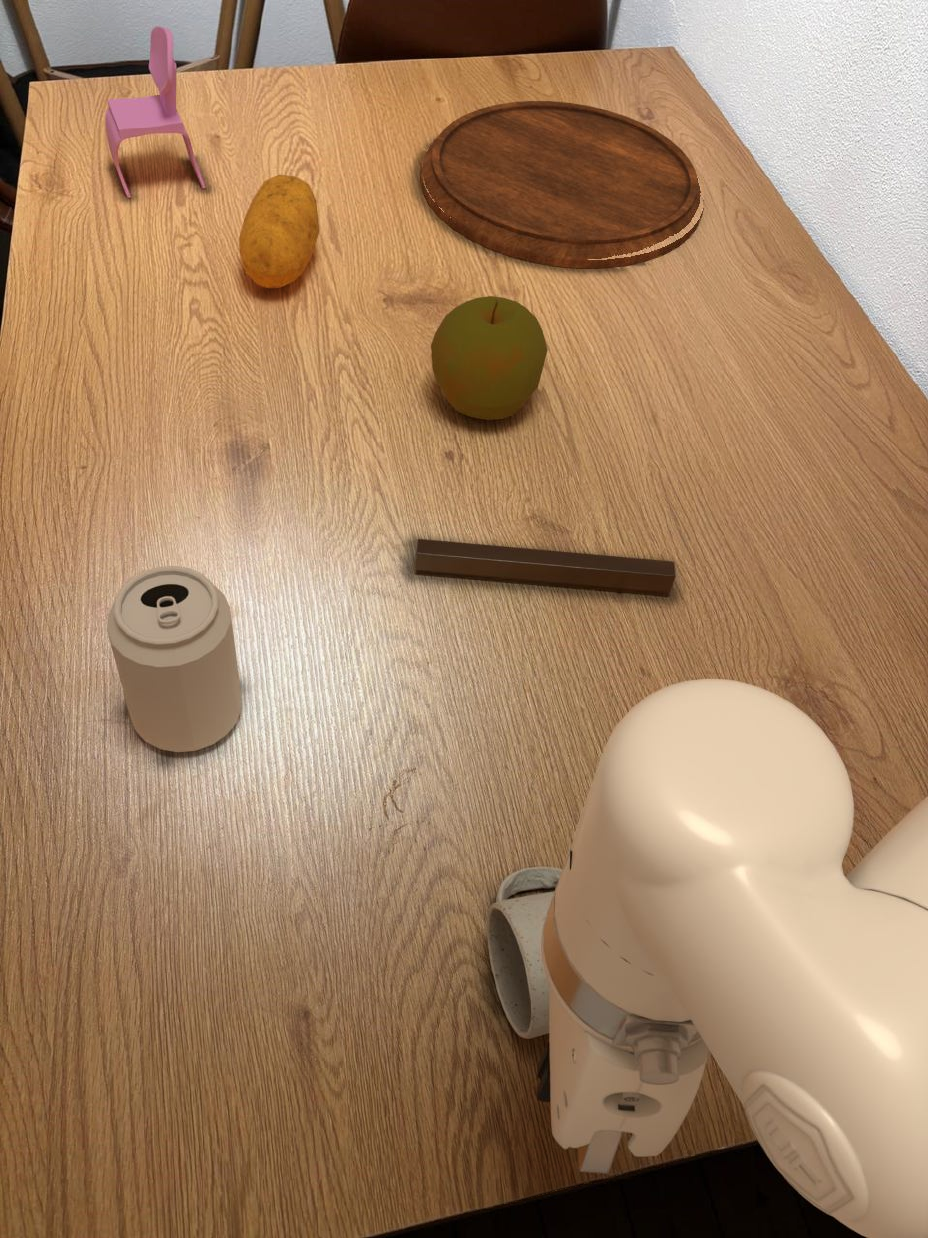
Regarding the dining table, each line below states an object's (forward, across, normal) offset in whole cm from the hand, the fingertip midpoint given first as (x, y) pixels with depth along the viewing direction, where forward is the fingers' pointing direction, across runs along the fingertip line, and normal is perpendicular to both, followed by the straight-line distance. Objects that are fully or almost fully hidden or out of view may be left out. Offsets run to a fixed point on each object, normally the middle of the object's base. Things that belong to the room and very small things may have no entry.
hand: (568, 1087), depth 55 cm
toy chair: (+9, +94, +42) cm, 103 cm away
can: (+8, +25, +25) cm, 36 cm away
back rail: (+8, +41, 0) cm, 41 cm away
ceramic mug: (+8, +10, 0) cm, 13 cm away
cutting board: (+9, +100, -2) cm, 100 cm away
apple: (+8, +61, +6) cm, 62 cm away
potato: (+9, +80, +26) cm, 84 cm away
